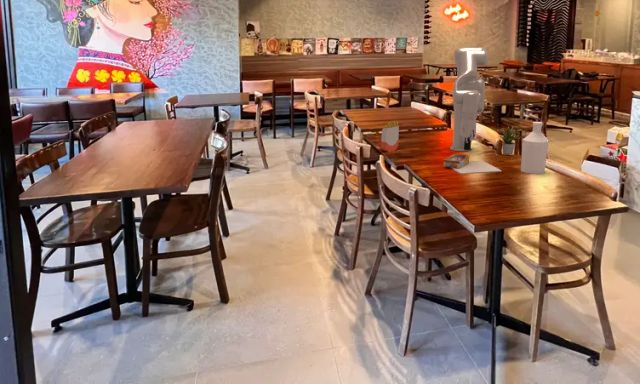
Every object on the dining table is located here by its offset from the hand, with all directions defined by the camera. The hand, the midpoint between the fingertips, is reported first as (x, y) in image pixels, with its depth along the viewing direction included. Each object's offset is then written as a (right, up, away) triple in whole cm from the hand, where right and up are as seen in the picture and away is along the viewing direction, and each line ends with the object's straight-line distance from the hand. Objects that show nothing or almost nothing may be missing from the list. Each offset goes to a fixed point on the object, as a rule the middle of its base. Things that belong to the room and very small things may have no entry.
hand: (467, 149), depth 276 cm
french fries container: (-37, +2, +37) cm, 53 cm away
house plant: (+31, -1, +23) cm, 39 cm away
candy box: (-1, -4, +5) cm, 7 cm away
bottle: (+30, -12, -13) cm, 35 cm away
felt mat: (+1, -10, -5) cm, 11 cm away
